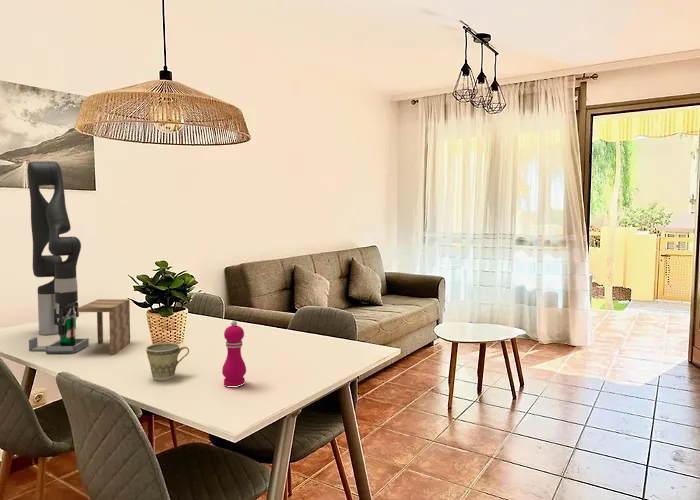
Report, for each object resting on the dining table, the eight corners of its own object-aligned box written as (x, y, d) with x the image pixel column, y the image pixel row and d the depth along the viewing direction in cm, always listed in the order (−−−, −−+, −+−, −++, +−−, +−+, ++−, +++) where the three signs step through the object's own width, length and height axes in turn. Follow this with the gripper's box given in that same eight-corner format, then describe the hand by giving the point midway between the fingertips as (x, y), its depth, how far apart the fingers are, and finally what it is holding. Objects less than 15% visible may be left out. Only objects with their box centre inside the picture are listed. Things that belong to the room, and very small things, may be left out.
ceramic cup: (147, 384, 155) (146, 352, 154) (146, 374, 164) (145, 344, 163) (191, 379, 160) (190, 348, 160) (187, 370, 169) (187, 340, 169)
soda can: (68, 348, 188) (67, 317, 187) (57, 347, 189) (56, 316, 188) (78, 345, 193) (77, 314, 192) (67, 344, 194) (66, 313, 193)
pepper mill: (224, 380, 159) (224, 318, 158) (247, 380, 160) (247, 318, 158) (220, 388, 152) (220, 323, 151) (244, 388, 153) (244, 323, 151)
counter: (99, 342, 202) (98, 299, 200) (130, 342, 203) (129, 299, 201) (78, 355, 184) (77, 308, 183) (112, 355, 185) (112, 308, 184)
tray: (40, 344, 196) (40, 334, 196) (88, 344, 198) (88, 334, 197) (23, 353, 184) (22, 342, 184) (74, 353, 186) (74, 342, 185)
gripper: (64, 287, 196) (66, 328, 198) (45, 292, 182) (47, 337, 183) (84, 287, 197) (85, 328, 198) (67, 293, 183) (68, 337, 184)
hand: (67, 332), depth 191 cm, fingers open, 8 cm apart
